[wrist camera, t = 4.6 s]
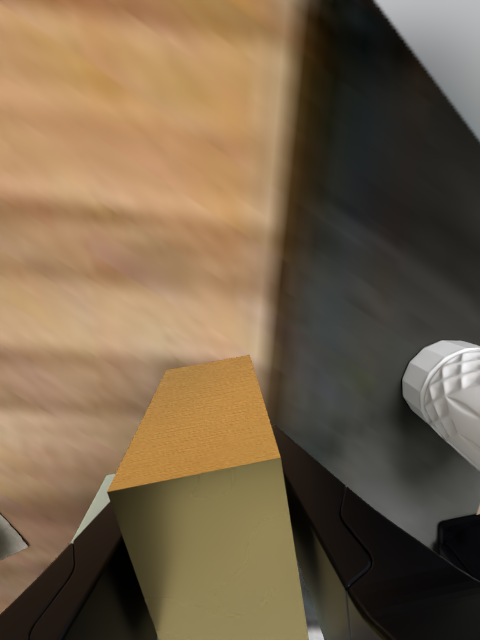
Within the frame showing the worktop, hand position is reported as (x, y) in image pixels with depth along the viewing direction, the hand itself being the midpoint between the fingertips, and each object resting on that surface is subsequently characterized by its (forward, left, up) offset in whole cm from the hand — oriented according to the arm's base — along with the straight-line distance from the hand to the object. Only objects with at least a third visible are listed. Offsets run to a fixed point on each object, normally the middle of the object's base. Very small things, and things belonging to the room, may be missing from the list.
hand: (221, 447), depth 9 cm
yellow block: (0, 0, -1) cm, 1 cm away
